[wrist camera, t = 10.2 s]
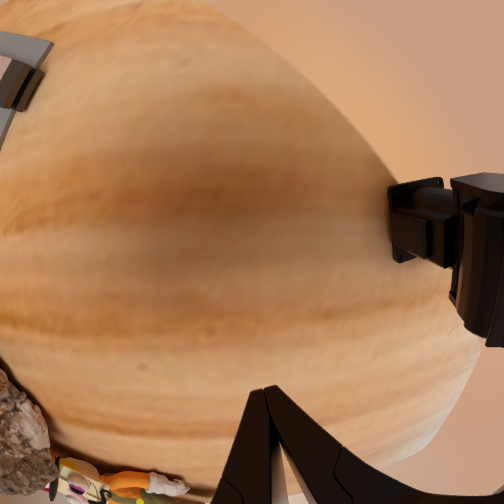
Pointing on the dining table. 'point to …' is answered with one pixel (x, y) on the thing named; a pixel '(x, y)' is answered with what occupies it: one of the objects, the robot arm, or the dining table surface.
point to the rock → (23, 443)
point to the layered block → (16, 83)
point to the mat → (23, 51)
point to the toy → (111, 485)
